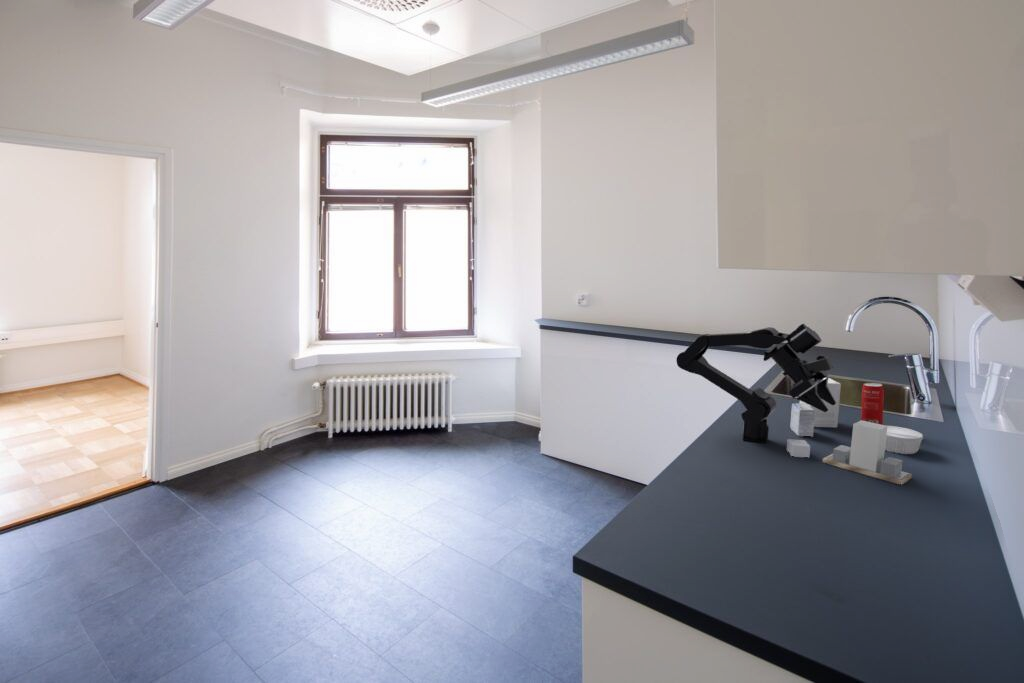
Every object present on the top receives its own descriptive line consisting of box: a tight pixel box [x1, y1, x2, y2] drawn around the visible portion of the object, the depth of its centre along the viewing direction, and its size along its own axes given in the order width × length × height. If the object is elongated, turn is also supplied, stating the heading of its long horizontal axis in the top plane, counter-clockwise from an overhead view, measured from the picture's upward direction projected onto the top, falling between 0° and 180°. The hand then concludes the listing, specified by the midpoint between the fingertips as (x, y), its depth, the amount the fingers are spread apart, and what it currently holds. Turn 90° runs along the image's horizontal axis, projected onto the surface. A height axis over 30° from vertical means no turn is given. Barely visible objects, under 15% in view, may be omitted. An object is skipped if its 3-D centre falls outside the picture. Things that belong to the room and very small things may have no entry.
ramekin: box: [885, 425, 924, 455], centre depth 150 cm, size 11×11×5 cm
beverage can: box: [860, 382, 885, 425], centre depth 167 cm, size 6×6×15 cm
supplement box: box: [799, 377, 842, 429], centre depth 173 cm, size 9×9×15 cm
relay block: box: [786, 438, 811, 459], centre depth 146 cm, size 4×5×4 cm
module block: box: [849, 419, 889, 472], centre depth 134 cm, size 6×5×11 cm
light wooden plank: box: [826, 454, 909, 480], centre depth 135 cm, size 17×6×1 cm, turn 37°
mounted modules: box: [832, 444, 904, 477], centre depth 135 cm, size 14×5×3 cm, turn 37°
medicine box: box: [789, 402, 815, 438], centre depth 164 cm, size 8×4×9 cm, turn 168°
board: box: [822, 453, 913, 486], centre depth 135 cm, size 18×7×1 cm, turn 37°
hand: (830, 407), depth 144 cm, fingers open, 9 cm apart
